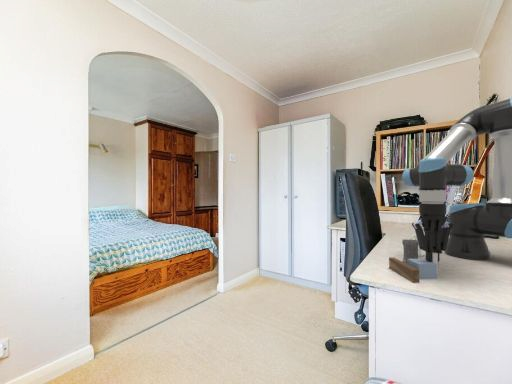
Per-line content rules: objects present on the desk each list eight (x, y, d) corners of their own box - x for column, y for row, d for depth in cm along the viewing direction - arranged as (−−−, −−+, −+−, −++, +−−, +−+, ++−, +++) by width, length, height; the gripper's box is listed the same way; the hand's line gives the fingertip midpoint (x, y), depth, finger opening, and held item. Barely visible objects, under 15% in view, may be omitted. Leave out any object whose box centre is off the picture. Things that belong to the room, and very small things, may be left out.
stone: (420, 267, 90) (420, 241, 90) (403, 265, 92) (403, 240, 92) (417, 264, 94) (418, 239, 93) (401, 263, 95) (401, 238, 95)
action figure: (425, 255, 105) (424, 229, 105) (421, 257, 103) (421, 229, 103) (409, 252, 110) (408, 227, 110) (405, 254, 108) (405, 228, 108)
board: (394, 267, 90) (394, 257, 90) (419, 282, 76) (419, 270, 76) (389, 268, 90) (389, 257, 90) (413, 282, 76) (413, 270, 76)
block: (424, 272, 85) (424, 258, 85) (436, 278, 79) (436, 263, 79) (407, 272, 85) (407, 258, 85) (418, 279, 79) (418, 264, 79)
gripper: (442, 202, 85) (443, 267, 85) (406, 202, 85) (406, 267, 85) (460, 203, 78) (460, 274, 78) (420, 203, 78) (421, 275, 78)
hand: (432, 271), depth 82 cm, fingers closed
